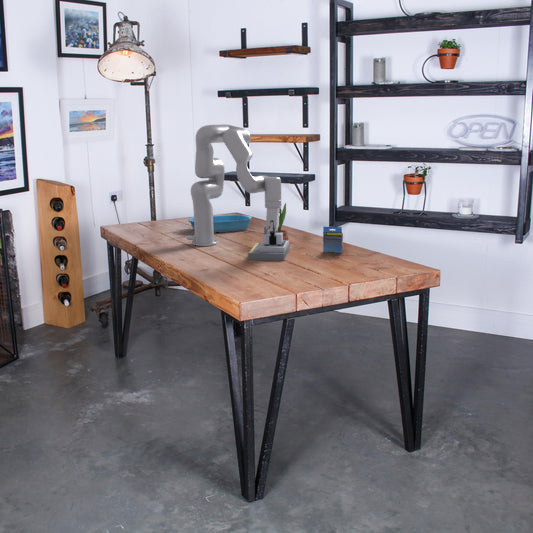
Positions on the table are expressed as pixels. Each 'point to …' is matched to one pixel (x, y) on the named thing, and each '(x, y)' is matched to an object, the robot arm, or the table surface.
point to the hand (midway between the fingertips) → (273, 243)
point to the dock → (269, 251)
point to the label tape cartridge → (332, 239)
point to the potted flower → (281, 220)
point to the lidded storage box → (278, 238)
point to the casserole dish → (228, 223)
